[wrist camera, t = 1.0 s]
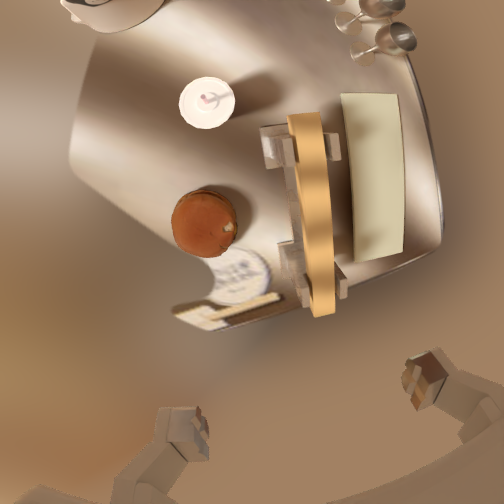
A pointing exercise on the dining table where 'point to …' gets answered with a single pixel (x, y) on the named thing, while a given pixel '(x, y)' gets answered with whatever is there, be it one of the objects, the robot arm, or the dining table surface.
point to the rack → (296, 206)
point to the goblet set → (387, 37)
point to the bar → (314, 209)
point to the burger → (204, 223)
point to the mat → (375, 173)
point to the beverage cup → (207, 102)
